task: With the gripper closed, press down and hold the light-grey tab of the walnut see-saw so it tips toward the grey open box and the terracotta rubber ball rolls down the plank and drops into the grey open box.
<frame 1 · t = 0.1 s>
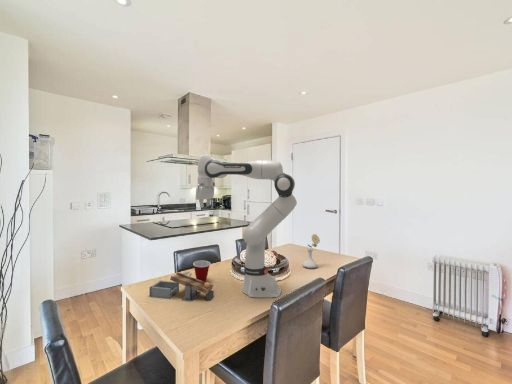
hand: (205, 206, 152), 48 cm above the table, fingers open, 8 cm apart
ball: (206, 285, 137), point 7 cm above the table, tilted 10°, touching lever
rest block: (209, 298, 137), on the table
plastic cup: (201, 282, 160), on the table
flower in vase: (310, 267, 192), on the table
lever: (194, 280, 142), point 8 cm above the table, hinge at -15.0°, touching ball
grey open box: (164, 293, 142), on the table
fulcrum: (191, 296, 139), on the table
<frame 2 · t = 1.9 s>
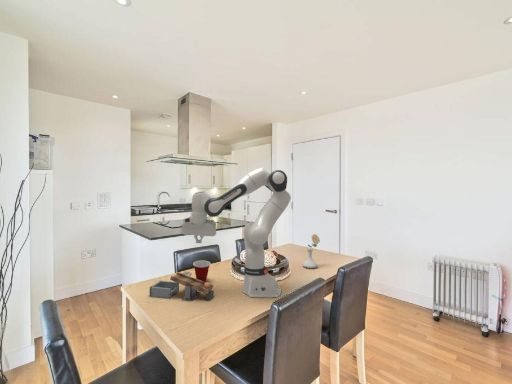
hand: (198, 243, 149), 27 cm above the table, fingers closed
nothing on the table moved.
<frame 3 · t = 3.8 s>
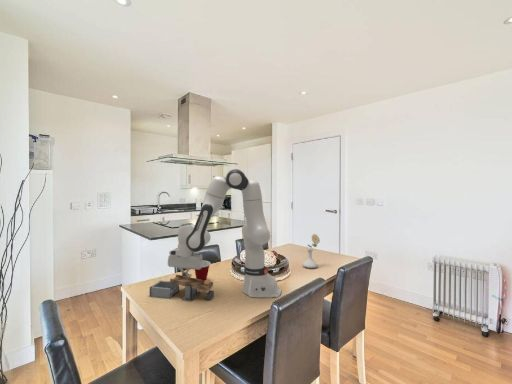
hand: (184, 275, 147), 8 cm above the table, fingers closed, pressing on lever
ball: (206, 282, 137), point 8 cm above the table, touching lever
lever: (194, 280, 142), point 8 cm above the table, hinge at -6.6°, touching ball, gripper
everything else where it was.
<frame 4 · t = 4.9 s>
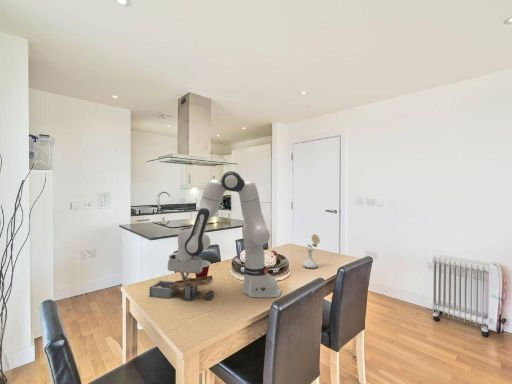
hand: (184, 279, 147), 6 cm above the table, fingers closed
ball: (159, 289, 142), point 2 cm above the table, tilted 28°, touching grey open box
lever: (194, 280, 142), point 8 cm above the table, hinge at 12.7°, touching gripper
everything else where it was.
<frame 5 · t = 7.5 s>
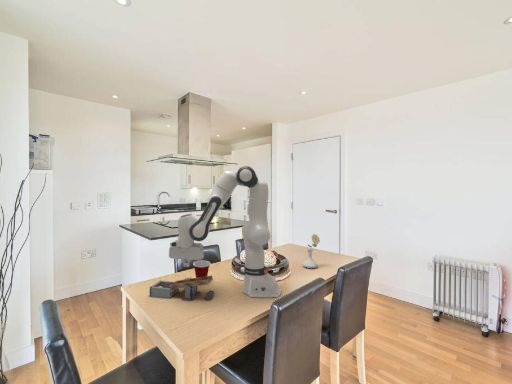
hand: (186, 266, 146), 14 cm above the table, fingers closed
ball: (160, 289, 142), point 2 cm above the table, tilted 45°, touching grey open box
lever: (194, 280, 142), point 8 cm above the table, hinge at 12.7°
everything else where it was.
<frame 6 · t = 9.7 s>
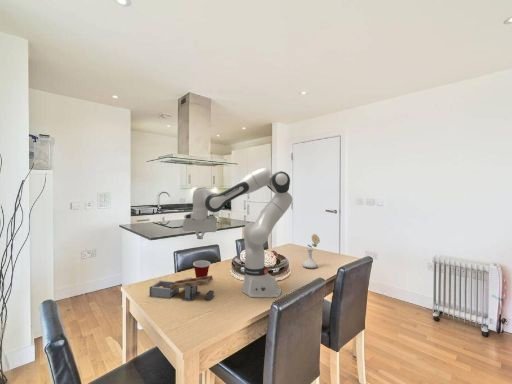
hand: (200, 239, 149), 29 cm above the table, fingers closed
ball: (160, 289, 142), point 2 cm above the table, tilted 59°, touching grey open box
everything else where it was.
at the end: ball inside the target area on the grey open box (2.3 cm from its centre), point 2.2 cm above the grey open box's base; lever at +13° (first picture: -15°) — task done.
